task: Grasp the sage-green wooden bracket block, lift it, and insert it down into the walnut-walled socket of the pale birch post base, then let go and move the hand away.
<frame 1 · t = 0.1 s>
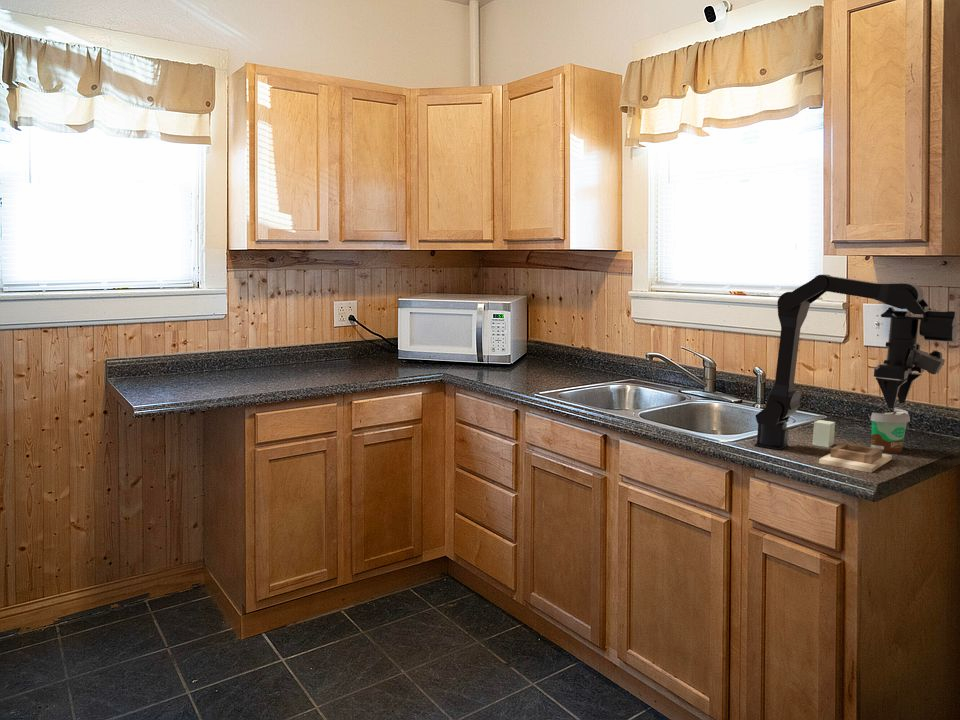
hand: (896, 405, 180), 15 cm above the table, fingers open, 9 cm apart
bracket: (822, 444, 203), on the table
food container: (892, 451, 198), on the table
post base: (855, 461, 187), on the table
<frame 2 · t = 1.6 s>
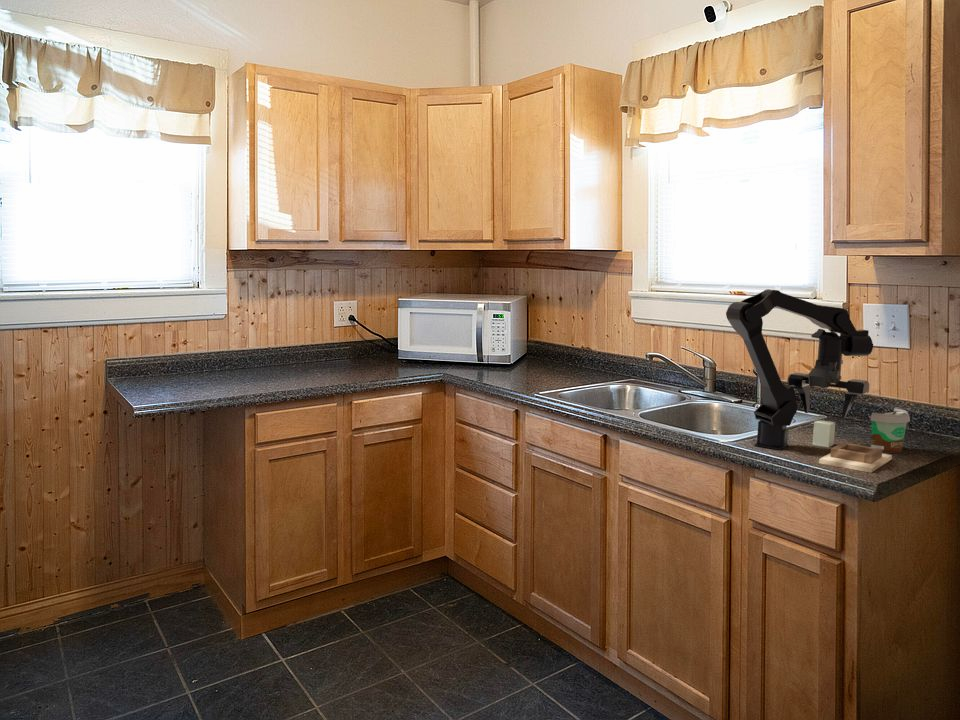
hand: (824, 415, 202), 8 cm above the table, fingers open, 9 cm apart
nothing on the table moved.
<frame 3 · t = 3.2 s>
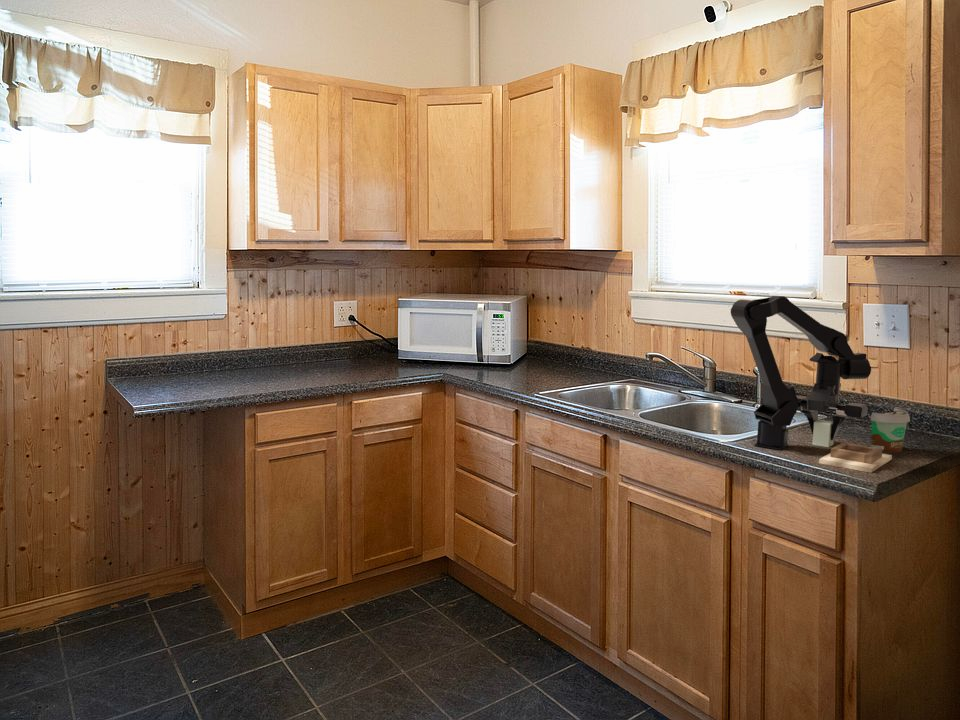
hand: (823, 438, 203), 2 cm above the table, fingers closed on bracket, 4 cm apart
bracket: (822, 444, 203), on the table, touching gripper
everything else where it was.
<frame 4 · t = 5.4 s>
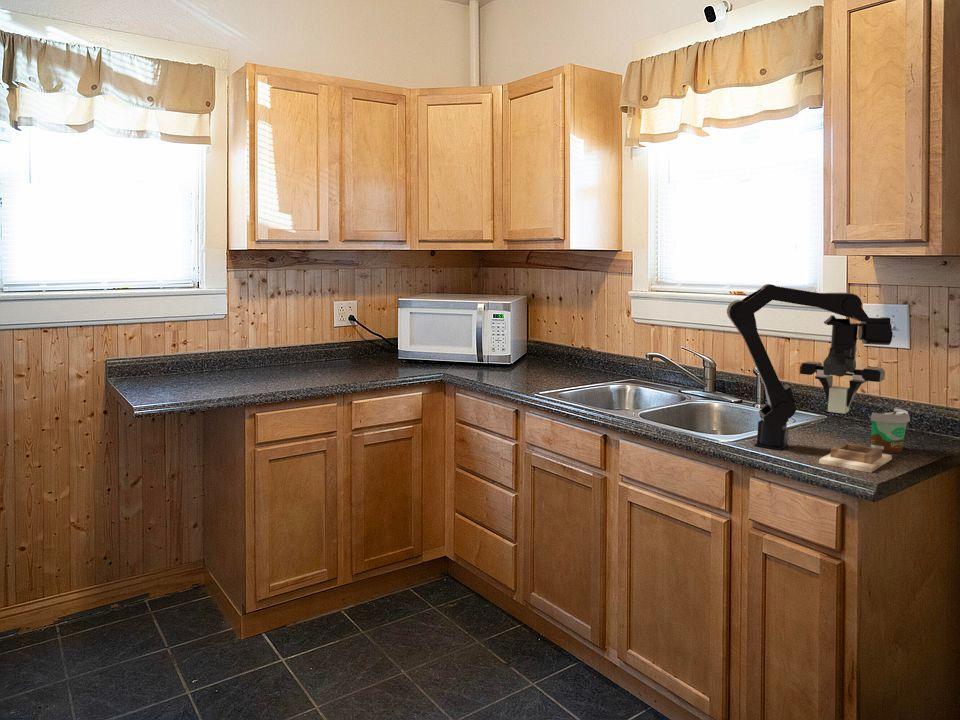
hand: (838, 405, 196), 12 cm above the table, fingers closed on bracket, 4 cm apart
bracket: (838, 411, 196), point 10 cm above the table, touching gripper
everything else where it was.
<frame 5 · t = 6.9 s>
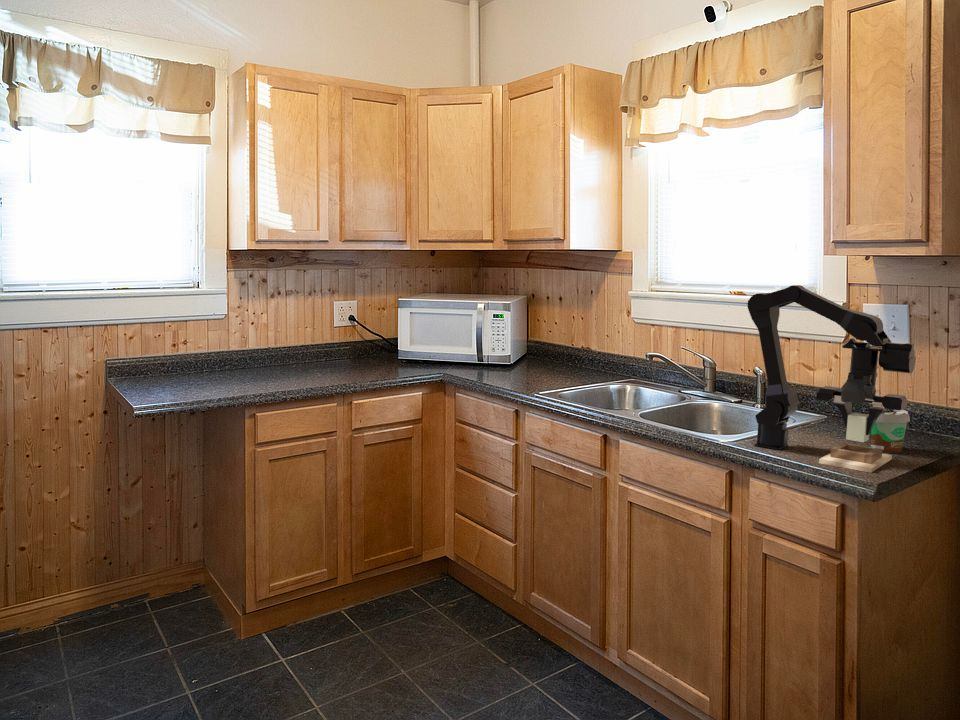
hand: (857, 433, 186), 7 cm above the table, fingers closed on bracket, 4 cm apart
bracket: (857, 439, 186), point 5 cm above the table, touching gripper
everything else where it was.
when the fingers open (4 cm above the table, at t = 7.7 s): bracket drops 1 cm, resting on post base.
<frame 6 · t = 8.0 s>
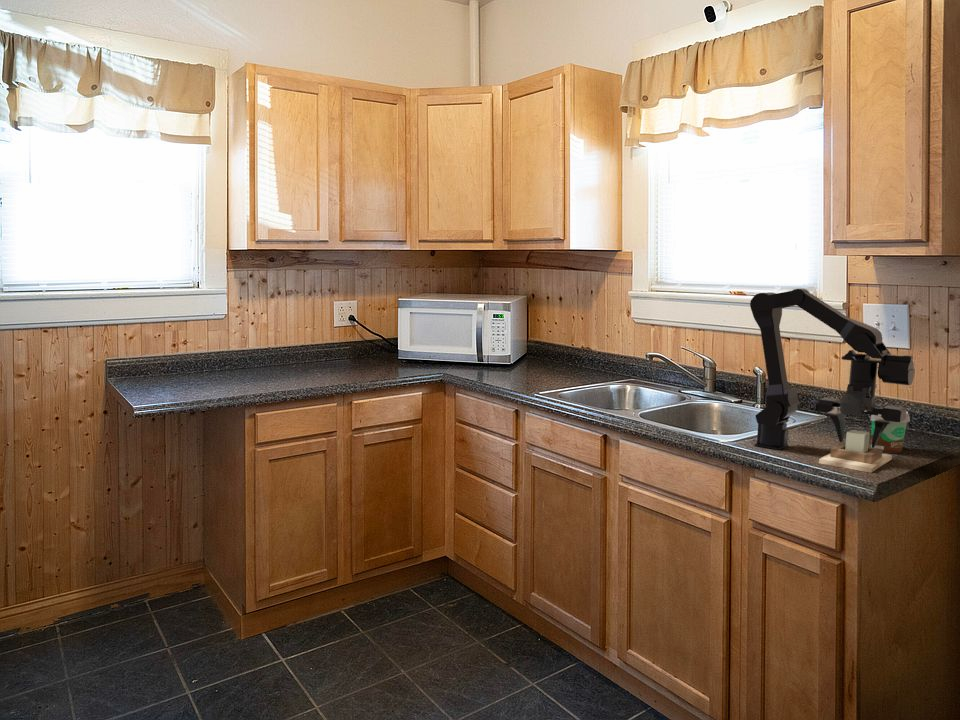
hand: (857, 444, 186), 4 cm above the table, fingers open, 7 cm apart
bracket: (856, 456, 187), point 1 cm above the table, touching post base
everything else where it was.
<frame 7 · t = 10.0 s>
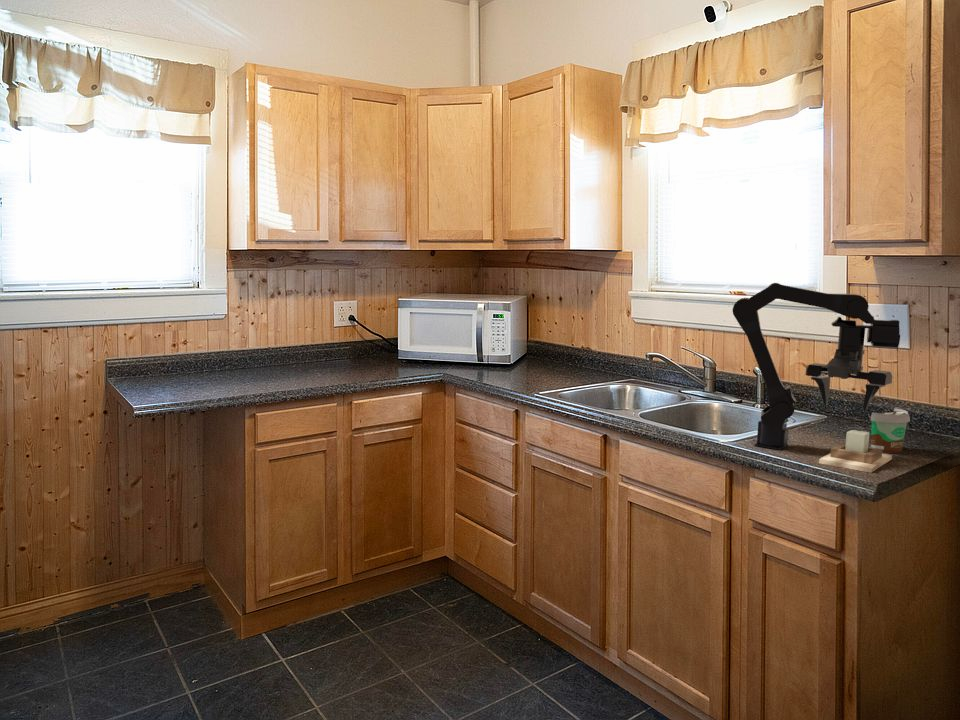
hand: (844, 408, 193), 11 cm above the table, fingers open, 9 cm apart
nothing on the table moved.
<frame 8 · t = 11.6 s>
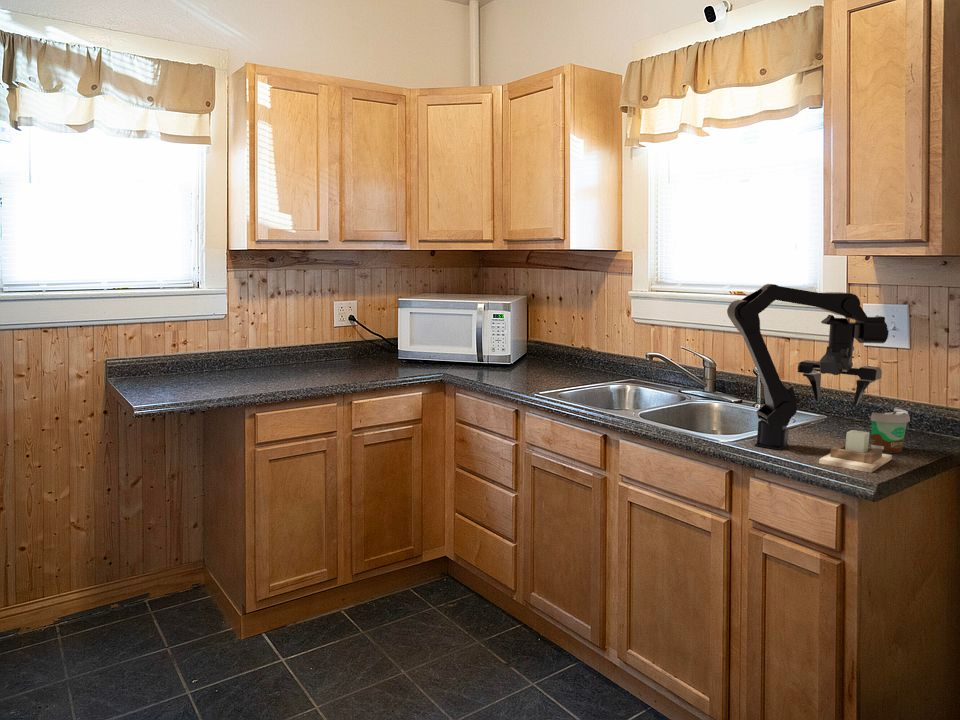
hand: (836, 403, 198), 12 cm above the table, fingers open, 9 cm apart
nothing on the table moved.
at the end: bracket 0.1 cm off-centre on the post base, point 1.0 cm above the post base's base; bracket tilted 0°; the gripper is holding nothing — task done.
